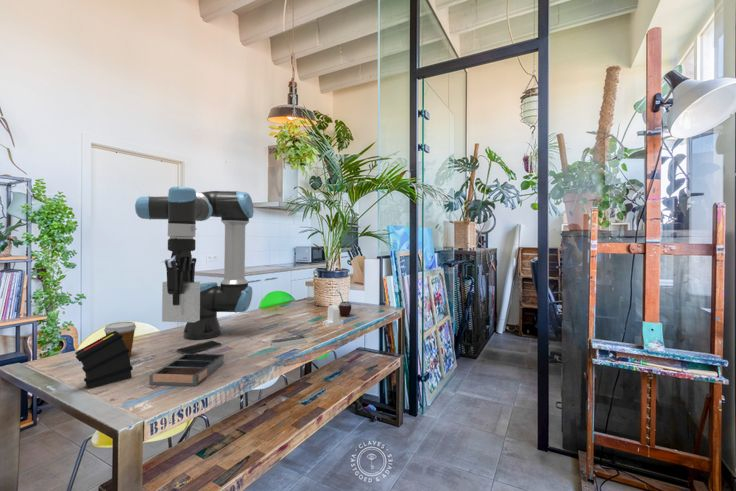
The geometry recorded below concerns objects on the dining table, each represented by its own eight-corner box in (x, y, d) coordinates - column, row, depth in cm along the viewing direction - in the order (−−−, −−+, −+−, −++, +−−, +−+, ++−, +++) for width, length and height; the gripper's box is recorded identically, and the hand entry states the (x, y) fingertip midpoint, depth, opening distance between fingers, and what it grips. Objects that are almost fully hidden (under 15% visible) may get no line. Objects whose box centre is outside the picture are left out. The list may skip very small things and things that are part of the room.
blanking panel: (162, 321, 104) (162, 282, 104) (168, 319, 107) (168, 281, 107) (194, 322, 104) (195, 283, 104) (199, 320, 107) (200, 281, 107)
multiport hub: (306, 343, 147) (306, 338, 147) (273, 349, 139) (273, 343, 139) (302, 340, 151) (302, 335, 151) (269, 346, 143) (269, 340, 142)
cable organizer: (322, 324, 177) (322, 305, 177) (338, 322, 184) (338, 303, 183) (327, 326, 173) (328, 307, 173) (343, 324, 179) (344, 305, 179)
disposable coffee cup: (141, 356, 126) (141, 323, 126) (111, 364, 118) (111, 329, 118) (128, 351, 131) (128, 320, 131) (98, 358, 123) (98, 325, 123)
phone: (175, 349, 132) (211, 340, 145) (175, 352, 132) (211, 342, 145) (186, 353, 128) (222, 343, 140) (186, 356, 128) (222, 346, 140)
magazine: (143, 369, 110) (119, 331, 104) (97, 400, 101) (68, 360, 95) (139, 366, 112) (116, 329, 107) (94, 396, 103) (65, 357, 98)
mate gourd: (353, 316, 196) (353, 290, 196) (340, 318, 192) (341, 291, 192) (347, 314, 202) (347, 288, 202) (335, 315, 199) (335, 289, 198)
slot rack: (149, 384, 103) (149, 374, 103) (184, 361, 122) (184, 353, 122) (197, 386, 102) (197, 376, 102) (224, 363, 121) (224, 354, 121)
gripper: (179, 238, 97) (178, 320, 98) (206, 238, 113) (205, 309, 114) (152, 237, 97) (152, 320, 98) (184, 237, 113) (183, 308, 114)
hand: (181, 314), depth 106 cm, fingers closed on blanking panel, 3 cm apart
